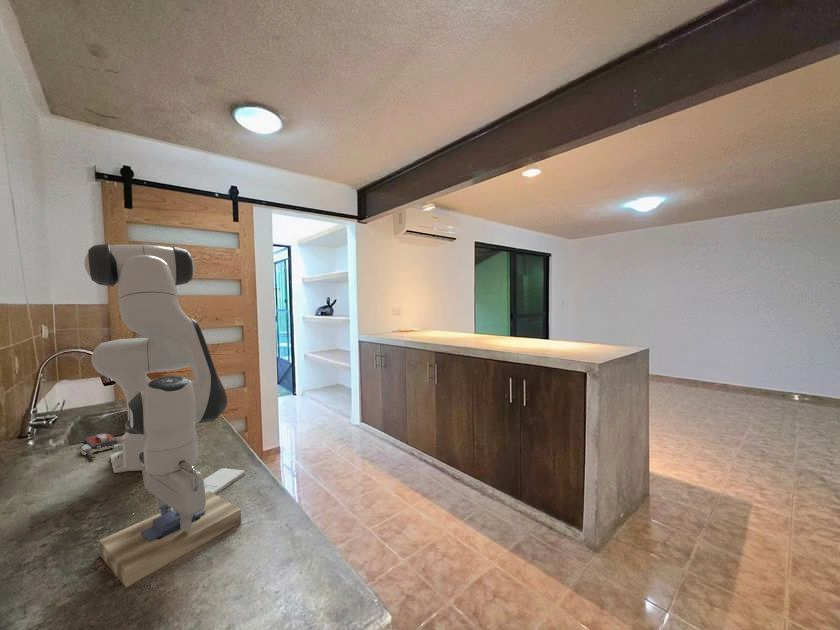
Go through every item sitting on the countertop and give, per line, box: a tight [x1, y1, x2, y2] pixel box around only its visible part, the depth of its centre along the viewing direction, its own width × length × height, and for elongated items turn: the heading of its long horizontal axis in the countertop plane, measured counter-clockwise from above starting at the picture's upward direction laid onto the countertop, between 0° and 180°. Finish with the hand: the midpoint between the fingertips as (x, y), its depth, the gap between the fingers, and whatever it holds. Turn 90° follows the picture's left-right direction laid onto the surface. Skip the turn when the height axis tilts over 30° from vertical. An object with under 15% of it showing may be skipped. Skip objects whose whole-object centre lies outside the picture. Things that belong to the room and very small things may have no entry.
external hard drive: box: [203, 467, 246, 495], centre depth 90 cm, size 2×8×12 cm
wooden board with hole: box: [98, 491, 242, 588], centre depth 69 cm, size 14×20×3 cm
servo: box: [141, 510, 205, 542], centre depth 69 cm, size 4×10×6 cm, turn 149°
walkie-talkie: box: [80, 432, 119, 460], centre depth 113 cm, size 9×4×20 cm
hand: (174, 520), depth 69 cm, fingers open, 8 cm apart
